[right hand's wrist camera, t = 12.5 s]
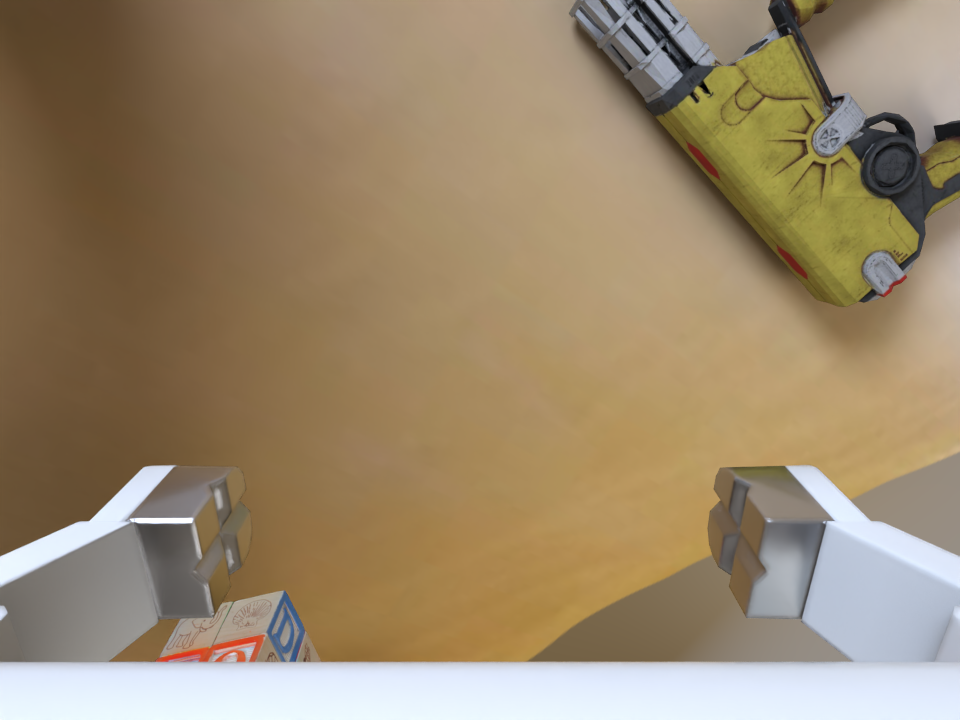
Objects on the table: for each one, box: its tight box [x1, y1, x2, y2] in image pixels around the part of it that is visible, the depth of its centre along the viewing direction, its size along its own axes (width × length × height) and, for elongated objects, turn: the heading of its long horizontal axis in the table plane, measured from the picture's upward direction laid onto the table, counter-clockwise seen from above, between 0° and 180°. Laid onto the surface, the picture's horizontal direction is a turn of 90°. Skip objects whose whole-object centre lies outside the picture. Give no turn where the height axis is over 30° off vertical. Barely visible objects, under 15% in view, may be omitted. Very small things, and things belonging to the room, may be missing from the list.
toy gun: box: [569, 0, 960, 307], centre depth 32 cm, size 5×24×15 cm
